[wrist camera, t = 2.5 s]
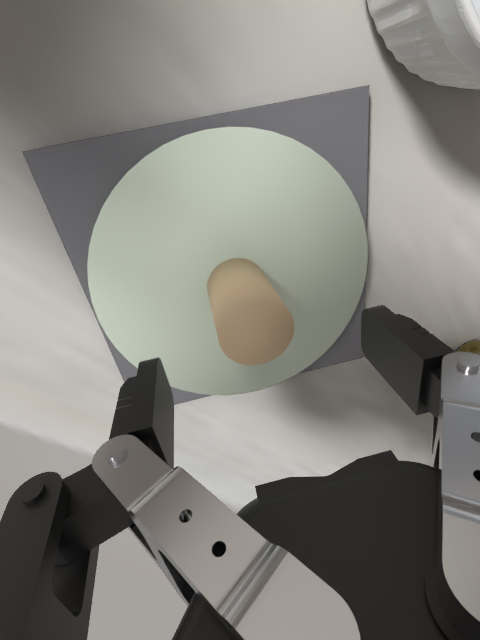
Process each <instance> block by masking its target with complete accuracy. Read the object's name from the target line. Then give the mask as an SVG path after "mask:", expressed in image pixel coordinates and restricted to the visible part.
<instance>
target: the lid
mask: <svg viewBox="0 0 480 640" xmlns="http://www.w3.org/2000/svg"><path fill="white" fill-rule="evenodd" d="M367 262H368V245H367V235H366V230H365V224H364V220H363V217H362V214H361V211H360V208H359V205H358V203H357V201H356V199H355V197H354V195H353V194H352V192H351V190H350V188H349V187H348V185H347V184H346V182H345V181H344V180H343V178H342V177H341V175H340V174H339V173H338V172H337V171H336V170H335V169H334V168H333V167H332V166H331V165H330V164H329V163H328V161H327V160H325V159H324V158H323V157H321V156H320V155H319V154H317V153H316V152H315V151H313V150H312V149H311V148H309V147H307V146H305V145H304V144H302V143H300V142H298V141H296V140H294V139H293V138H290V137H287V136H284V135H281V134H278V133H276V132H273V131H268V130H263V129H257V128H252V127H222V128H213V129H206V130H202V131H198V132H195V133H191V134H187V135H184V136H181V137H179V138H177V139H175V140H173V141H170V142H168V143H166V144H164V145H162V146H161V147H159V148H158V149H156V150H154V151H153V152H151V153H150V154H148V155H147V156H145V157H144V158H143V159H142V160H141V161H139V162H138V163H137V164H136V165H135V166H134V167H133V168H131V169H130V170H129V171H128V172H127V173H126V174H125V176H124V177H123V178H122V179H121V180H120V182H119V183H118V184H117V185H116V186H115V187H114V189H113V190H112V192H111V193H110V195H109V197H108V198H107V200H106V202H105V203H104V205H103V207H102V209H101V211H100V213H99V216H98V218H97V221H96V223H95V225H94V229H93V233H92V237H91V241H90V244H89V252H88V263H87V271H88V286H89V291H90V296H91V301H92V304H93V307H94V310H95V312H96V315H97V318H98V320H99V322H100V324H101V326H102V328H103V330H104V332H105V333H106V335H107V336H108V338H109V339H110V341H111V342H112V343H113V345H114V346H115V348H116V349H117V350H118V351H119V352H120V353H121V354H122V355H123V356H124V357H125V358H126V359H127V360H128V361H129V362H130V363H132V364H133V365H134V366H135V367H136V368H138V365H139V362H141V361H145V360H149V359H154V358H158V357H159V358H160V359H161V361H162V364H163V367H164V370H165V373H166V376H167V378H168V381H169V384H170V386H171V387H174V388H177V389H180V390H183V391H188V392H193V393H197V394H207V395H233V394H243V393H248V392H253V391H257V390H260V389H264V388H267V387H270V386H273V385H275V384H278V383H280V382H282V381H285V380H287V379H288V378H290V377H292V376H294V375H296V374H298V373H299V372H301V371H302V370H304V369H305V368H307V367H308V366H310V365H311V364H312V363H313V362H315V361H316V360H317V359H318V358H319V357H321V356H322V355H323V354H324V353H325V352H326V351H327V350H328V349H329V348H330V347H331V346H332V345H333V343H334V342H335V341H336V340H337V338H338V337H339V336H340V335H341V333H342V332H343V331H344V329H345V327H346V326H347V324H348V322H349V321H350V319H351V318H352V315H353V313H354V311H355V309H356V307H357V305H358V302H359V300H360V297H361V294H362V291H363V287H364V283H365V278H366V273H367Z"/></svg>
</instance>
